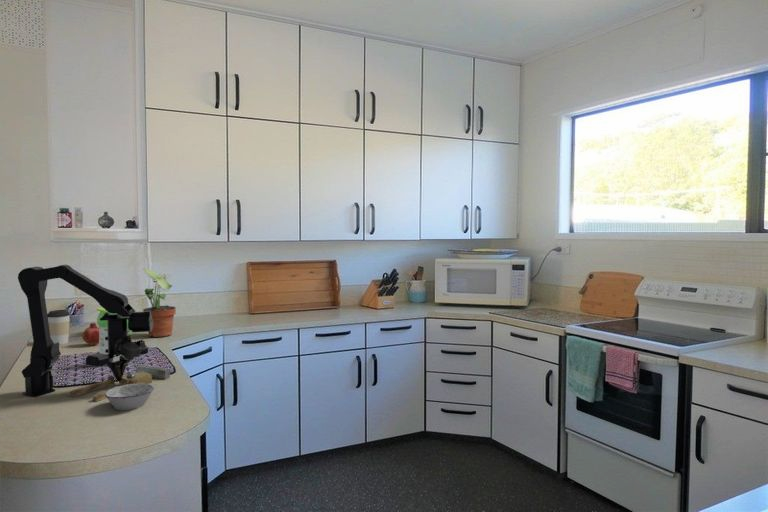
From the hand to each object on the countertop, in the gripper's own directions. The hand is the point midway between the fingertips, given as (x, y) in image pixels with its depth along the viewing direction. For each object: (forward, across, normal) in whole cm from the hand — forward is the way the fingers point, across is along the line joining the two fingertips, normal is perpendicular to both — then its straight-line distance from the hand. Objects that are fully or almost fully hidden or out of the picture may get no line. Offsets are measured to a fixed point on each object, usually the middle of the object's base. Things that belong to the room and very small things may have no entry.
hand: (119, 380), depth 164 cm
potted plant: (+2, +62, +52) cm, 82 cm away
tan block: (+3, +4, -2) cm, 6 cm away
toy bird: (+2, +59, +78) cm, 98 cm away
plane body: (+2, -5, 0) cm, 6 cm away
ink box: (+2, +18, +28) cm, 34 cm away
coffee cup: (+2, +33, +83) cm, 89 cm away
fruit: (+2, +36, +64) cm, 74 cm away
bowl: (+2, -10, -18) cm, 21 cm away
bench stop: (+2, +13, 0) cm, 13 cm away
